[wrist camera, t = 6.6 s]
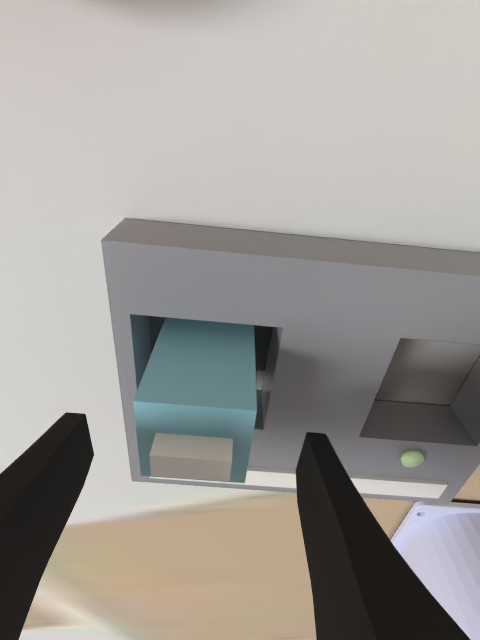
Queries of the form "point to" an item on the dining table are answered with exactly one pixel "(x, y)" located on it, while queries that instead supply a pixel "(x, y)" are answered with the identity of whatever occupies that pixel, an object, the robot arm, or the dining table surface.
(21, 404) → the dining table surface
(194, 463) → the plug
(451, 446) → the panel
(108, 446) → the dining table surface
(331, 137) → the dining table surface
